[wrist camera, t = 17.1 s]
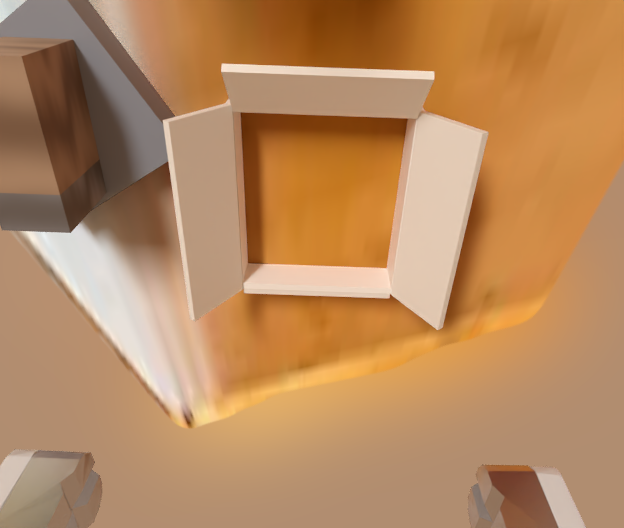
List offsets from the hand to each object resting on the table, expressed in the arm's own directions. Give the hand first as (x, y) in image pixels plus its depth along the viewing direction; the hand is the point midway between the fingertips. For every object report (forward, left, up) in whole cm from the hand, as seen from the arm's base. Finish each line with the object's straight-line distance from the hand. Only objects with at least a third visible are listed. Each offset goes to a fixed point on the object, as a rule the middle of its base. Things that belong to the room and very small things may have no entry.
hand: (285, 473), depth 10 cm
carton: (+3, +7, -34) cm, 35 cm away
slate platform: (+18, -9, -34) cm, 40 cm away
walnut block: (+18, -9, -31) cm, 37 cm away
